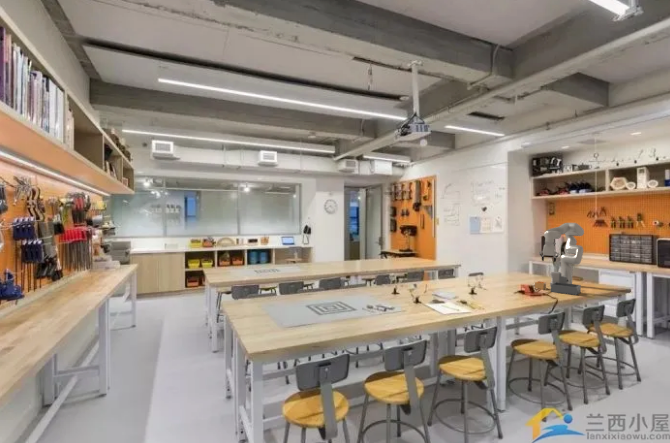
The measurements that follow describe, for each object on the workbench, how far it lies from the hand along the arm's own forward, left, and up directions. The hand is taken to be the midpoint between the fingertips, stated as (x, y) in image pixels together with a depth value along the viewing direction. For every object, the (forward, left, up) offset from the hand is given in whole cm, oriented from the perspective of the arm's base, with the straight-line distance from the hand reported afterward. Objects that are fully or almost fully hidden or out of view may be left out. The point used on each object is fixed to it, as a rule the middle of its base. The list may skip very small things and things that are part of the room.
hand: (548, 261), depth 335 cm
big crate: (+7, +16, -26) cm, 31 cm away
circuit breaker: (-13, +7, -27) cm, 30 cm away
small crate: (+5, -5, -26) cm, 27 cm away
